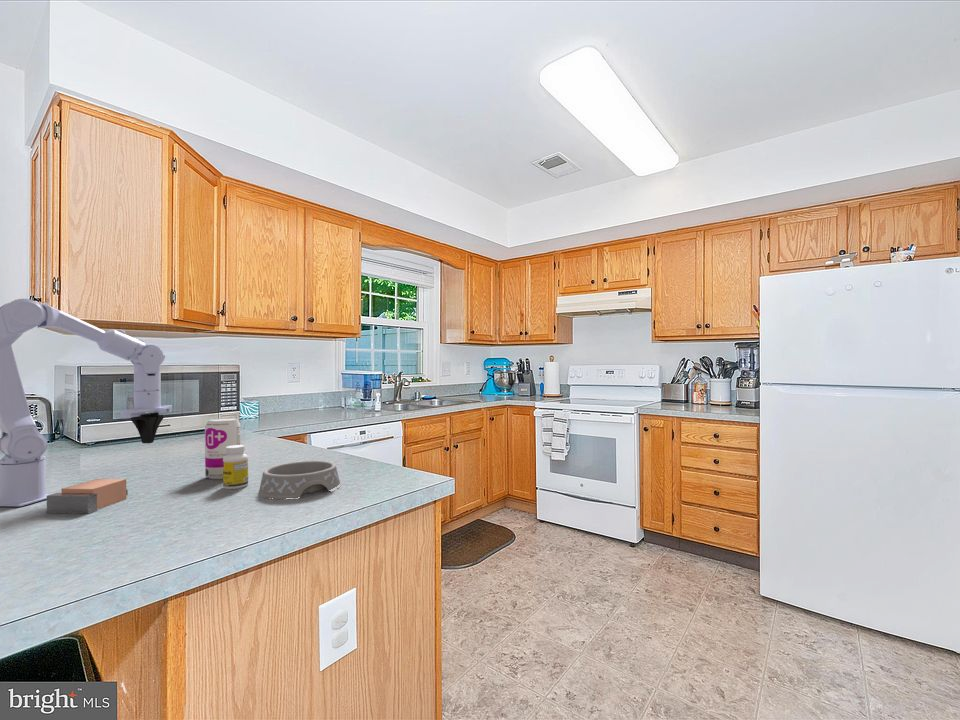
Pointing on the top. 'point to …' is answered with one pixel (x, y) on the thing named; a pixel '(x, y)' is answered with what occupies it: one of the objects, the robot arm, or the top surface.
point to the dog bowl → (298, 479)
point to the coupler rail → (72, 502)
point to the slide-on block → (101, 490)
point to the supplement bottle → (235, 467)
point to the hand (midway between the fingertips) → (147, 442)
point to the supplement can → (219, 444)
